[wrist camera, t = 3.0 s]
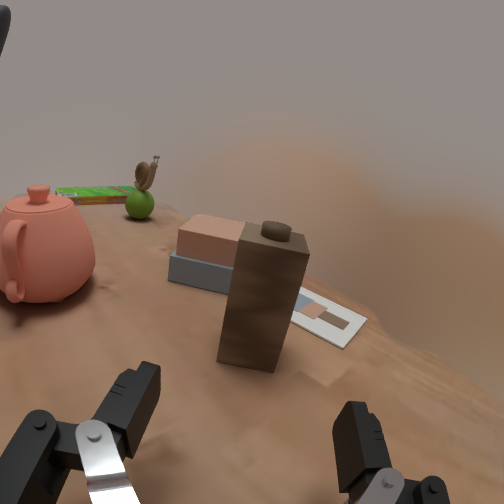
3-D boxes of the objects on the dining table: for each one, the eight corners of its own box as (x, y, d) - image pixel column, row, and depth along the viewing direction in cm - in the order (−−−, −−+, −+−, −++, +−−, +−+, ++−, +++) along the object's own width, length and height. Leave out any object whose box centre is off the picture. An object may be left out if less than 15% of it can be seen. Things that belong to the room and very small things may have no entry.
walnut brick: (216, 361, 22) (241, 226, 18) (225, 329, 26) (248, 212, 22) (273, 372, 22) (313, 242, 18) (274, 339, 26) (306, 224, 22)
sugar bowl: (104, 264, 32) (108, 179, 29) (78, 337, 20) (69, 211, 16) (20, 255, 28) (17, 175, 25) (-32, 316, 16) (-53, 205, 12)
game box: (55, 200, 56) (132, 194, 69) (58, 212, 50) (146, 204, 63) (55, 187, 55) (133, 182, 68) (58, 197, 48) (147, 190, 62)
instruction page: (260, 304, 31) (260, 302, 31) (297, 286, 37) (297, 284, 37) (342, 349, 26) (343, 347, 26) (366, 320, 32) (367, 317, 32)
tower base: (167, 280, 32) (172, 229, 30) (189, 253, 41) (195, 211, 39) (246, 298, 32) (257, 247, 30) (252, 267, 40) (261, 225, 38)
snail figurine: (136, 225, 47) (144, 155, 43) (119, 215, 50) (125, 151, 46) (161, 222, 51) (170, 156, 47) (142, 213, 55) (150, 152, 51)
